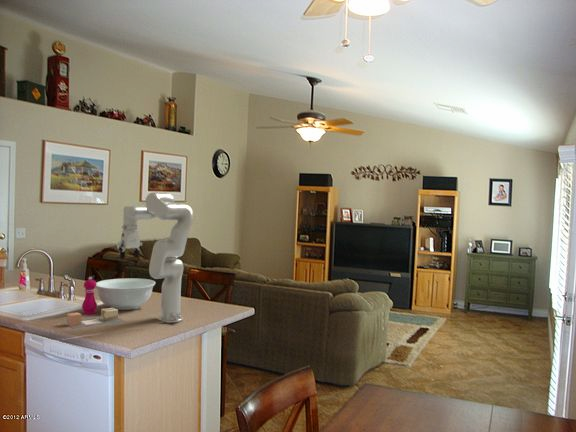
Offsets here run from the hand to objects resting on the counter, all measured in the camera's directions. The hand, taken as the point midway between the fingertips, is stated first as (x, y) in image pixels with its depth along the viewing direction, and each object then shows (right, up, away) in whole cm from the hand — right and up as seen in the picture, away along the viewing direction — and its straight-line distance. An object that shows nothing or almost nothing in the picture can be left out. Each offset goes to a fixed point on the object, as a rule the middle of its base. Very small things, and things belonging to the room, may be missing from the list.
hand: (129, 258), depth 272 cm
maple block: (0, -28, -32) cm, 42 cm away
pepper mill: (-15, -28, -19) cm, 37 cm away
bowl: (-2, -28, -2) cm, 28 cm away
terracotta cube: (-12, -28, -43) cm, 53 cm away
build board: (-5, -29, -37) cm, 47 cm away
